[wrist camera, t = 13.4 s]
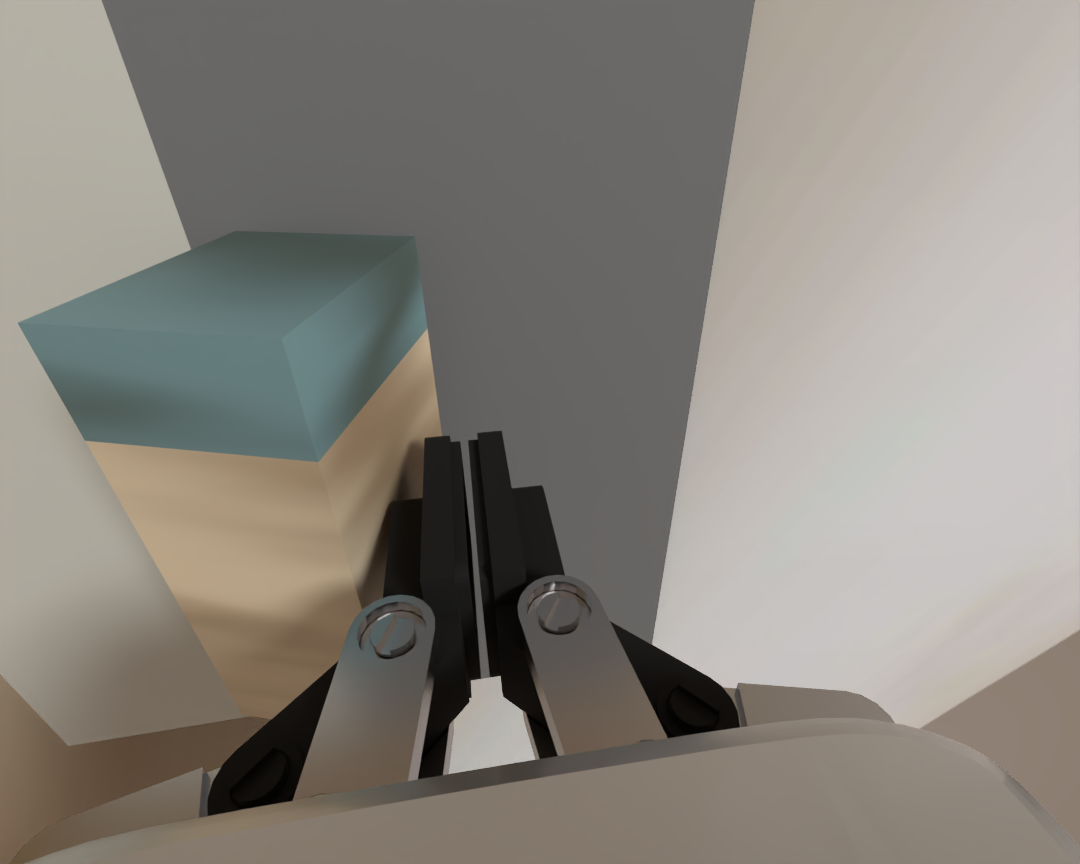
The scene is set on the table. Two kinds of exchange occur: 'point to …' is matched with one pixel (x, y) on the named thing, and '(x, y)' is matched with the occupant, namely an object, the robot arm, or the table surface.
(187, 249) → the mat
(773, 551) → the table surface
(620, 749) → the robot arm
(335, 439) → the block
